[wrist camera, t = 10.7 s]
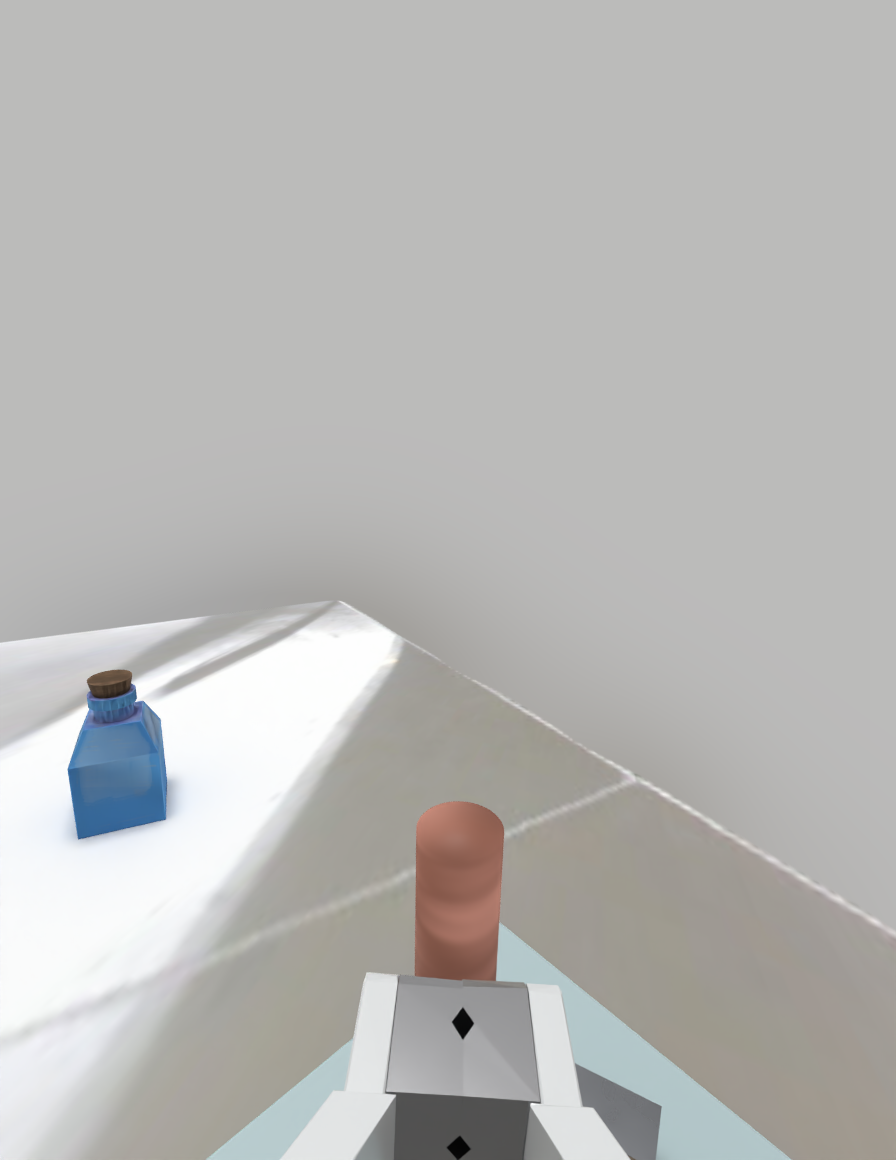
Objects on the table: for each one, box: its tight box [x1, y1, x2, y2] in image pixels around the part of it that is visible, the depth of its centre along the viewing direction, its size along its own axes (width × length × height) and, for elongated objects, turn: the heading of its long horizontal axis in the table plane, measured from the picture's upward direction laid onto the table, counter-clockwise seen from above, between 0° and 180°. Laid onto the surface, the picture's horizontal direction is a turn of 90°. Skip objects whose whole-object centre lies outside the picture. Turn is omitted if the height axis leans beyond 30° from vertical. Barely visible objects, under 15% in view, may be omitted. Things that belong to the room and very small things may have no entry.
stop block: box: [575, 1063, 662, 1160], centre depth 24 cm, size 4×2×3 cm, turn 64°
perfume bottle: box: [68, 670, 167, 839], centre depth 47 cm, size 6×6×12 cm
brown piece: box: [415, 802, 504, 981], centre depth 21 cm, size 12×3×16 cm, turn 65°
